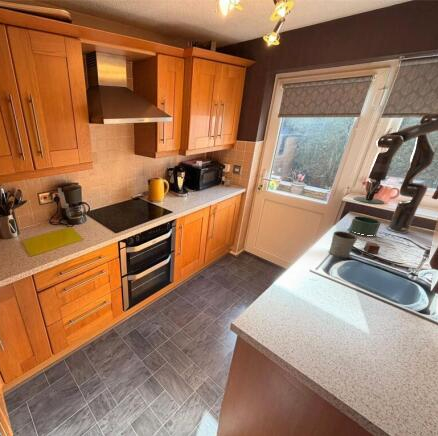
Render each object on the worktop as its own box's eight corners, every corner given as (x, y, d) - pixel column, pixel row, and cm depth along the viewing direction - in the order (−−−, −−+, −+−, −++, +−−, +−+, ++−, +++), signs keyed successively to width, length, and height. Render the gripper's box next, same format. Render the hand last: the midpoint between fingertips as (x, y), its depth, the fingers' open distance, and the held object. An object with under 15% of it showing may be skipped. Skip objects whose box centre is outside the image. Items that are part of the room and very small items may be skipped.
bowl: (349, 197, 152) (352, 187, 150) (377, 200, 147) (381, 189, 144) (357, 203, 139) (361, 192, 137) (389, 206, 134) (393, 195, 132)
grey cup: (344, 251, 133) (351, 232, 129) (354, 260, 124) (361, 240, 120) (324, 248, 136) (330, 230, 131) (332, 257, 127) (339, 238, 122)
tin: (346, 227, 165) (350, 215, 161) (370, 230, 160) (375, 217, 157) (353, 235, 153) (358, 222, 150) (379, 238, 148) (385, 225, 145)
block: (363, 248, 136) (366, 241, 134) (373, 250, 134) (376, 243, 132) (367, 252, 132) (369, 245, 130) (377, 253, 130) (380, 246, 129)
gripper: (393, 173, 129) (382, 202, 135) (381, 169, 141) (371, 196, 147) (376, 172, 132) (366, 201, 138) (366, 168, 144) (356, 195, 150)
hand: (368, 198), depth 142 cm, fingers closed on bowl, 2 cm apart
